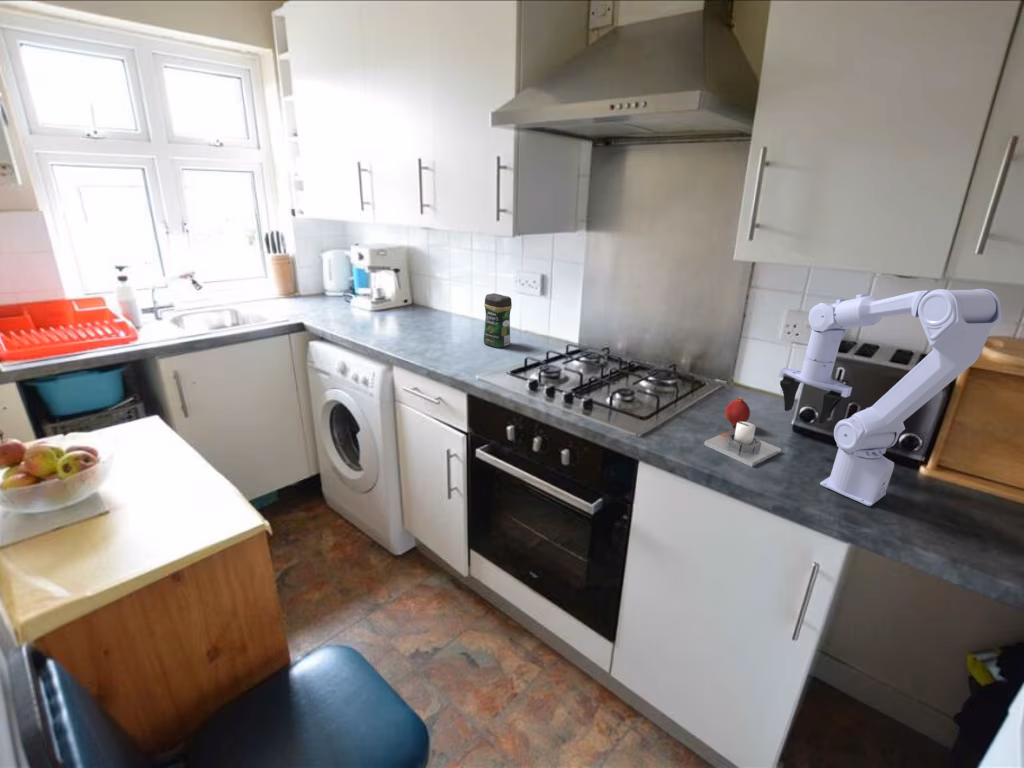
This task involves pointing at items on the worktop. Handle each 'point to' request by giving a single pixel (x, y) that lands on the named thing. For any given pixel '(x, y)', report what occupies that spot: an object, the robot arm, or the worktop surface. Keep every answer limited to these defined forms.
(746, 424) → the knob
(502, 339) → the coffee jar
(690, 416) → the worktop surface
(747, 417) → the onion
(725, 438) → the hub plate
